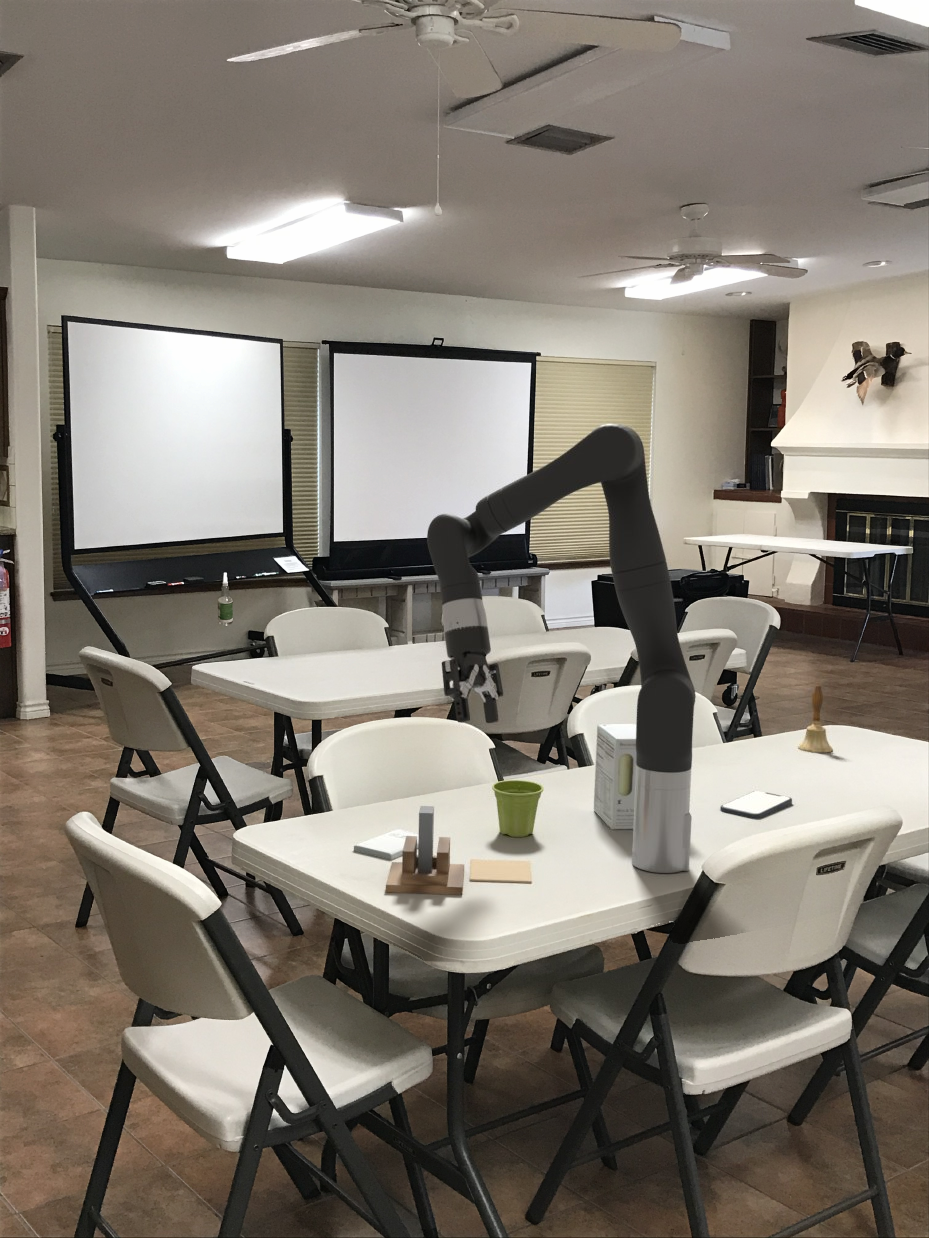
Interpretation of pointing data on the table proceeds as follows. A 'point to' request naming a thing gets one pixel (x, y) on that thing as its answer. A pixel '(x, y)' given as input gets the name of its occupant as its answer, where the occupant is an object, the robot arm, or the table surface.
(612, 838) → the table surface
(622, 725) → the supplement box
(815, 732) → the hand bell
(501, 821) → the plant pot
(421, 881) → the rack
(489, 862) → the cork mat
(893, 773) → the table surface
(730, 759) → the table surface
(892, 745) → the table surface
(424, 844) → the grey rectangular block
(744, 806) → the phone case
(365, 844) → the external hard drive
